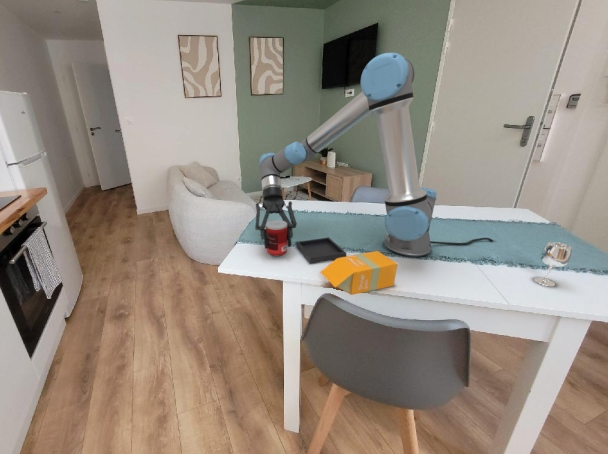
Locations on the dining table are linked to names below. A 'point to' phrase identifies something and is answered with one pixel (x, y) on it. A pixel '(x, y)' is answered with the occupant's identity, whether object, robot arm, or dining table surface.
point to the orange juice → (361, 272)
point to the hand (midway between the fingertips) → (278, 246)
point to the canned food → (276, 237)
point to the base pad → (320, 250)
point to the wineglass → (554, 259)
